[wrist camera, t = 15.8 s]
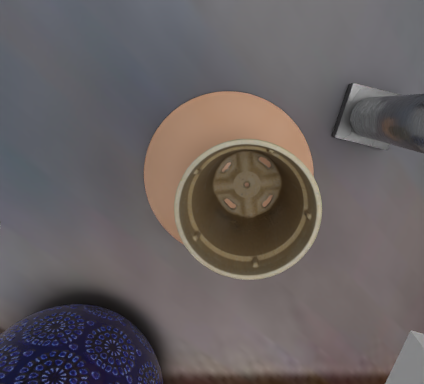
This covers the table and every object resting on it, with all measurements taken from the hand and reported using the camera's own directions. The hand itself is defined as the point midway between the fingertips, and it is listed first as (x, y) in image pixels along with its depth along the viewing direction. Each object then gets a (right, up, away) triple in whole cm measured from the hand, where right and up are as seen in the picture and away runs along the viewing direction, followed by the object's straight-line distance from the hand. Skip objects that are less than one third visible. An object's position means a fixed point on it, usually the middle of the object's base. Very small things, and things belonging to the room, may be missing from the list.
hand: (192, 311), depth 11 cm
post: (+14, +10, +18) cm, 25 cm away
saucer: (+2, +5, +20) cm, 21 cm away
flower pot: (+4, +5, +19) cm, 20 cm away
